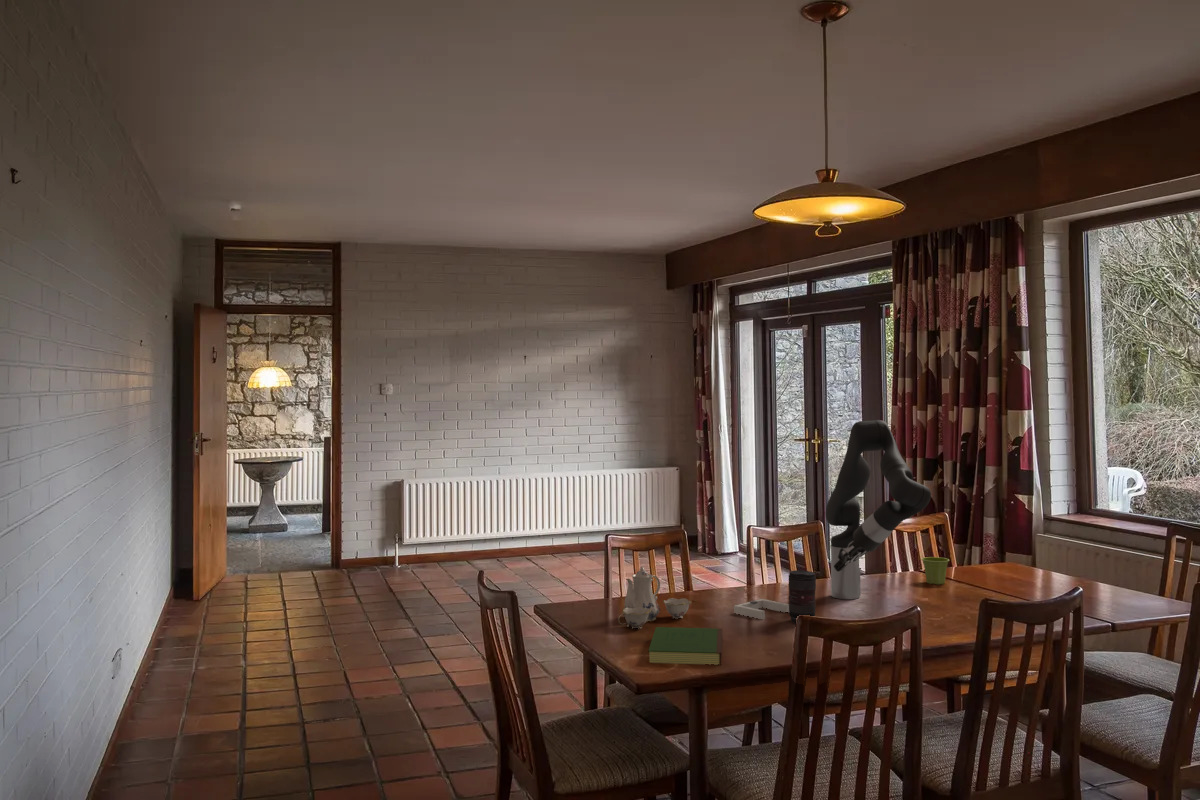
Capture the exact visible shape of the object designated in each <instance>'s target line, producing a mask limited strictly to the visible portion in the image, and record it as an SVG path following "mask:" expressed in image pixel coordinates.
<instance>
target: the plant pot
mask: <svg viewBox="0 0 1200 800" xmlns="http://www.w3.org/2000/svg"><path fill="white" fill-rule="evenodd" d="M921 560H922V563H923V567H924V572H925V578H926V579H925V581H926V583H927V584H929V585H933V584H934V585H944V584H945V583H946V576H947V568H948V564H949V562H950V559H949V558H945V557H939V556H937V557H935V556H928V557H922V558H921Z"/></svg>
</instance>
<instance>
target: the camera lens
mask: <svg viewBox="0 0 1200 800" xmlns="http://www.w3.org/2000/svg"><path fill="white" fill-rule="evenodd" d="M816 577H817V576H816V573H815V572H813V571H809V570H797V569H796V570H790V571H789V573H788V604H789V612H788V613H789V614H788V615H789V617H790V622H791V623H793V622H794V623H793V624H796V618H797V616H799V615H810V616H815V617H816V590H817V589H816V588H817V585H816V584H817V578H816Z"/></svg>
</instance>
